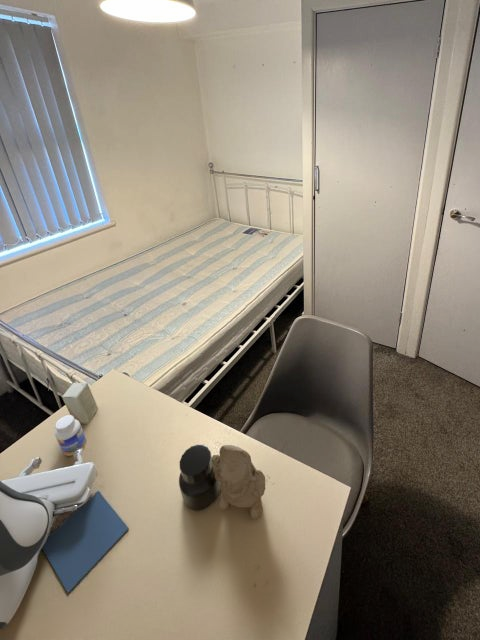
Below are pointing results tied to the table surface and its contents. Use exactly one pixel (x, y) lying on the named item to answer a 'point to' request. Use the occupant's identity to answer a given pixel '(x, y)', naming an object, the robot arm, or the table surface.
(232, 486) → the figurine
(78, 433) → the pill bottle
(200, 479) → the ink bottle
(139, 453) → the table surface
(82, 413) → the box
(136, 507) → the table surface
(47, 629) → the table surface
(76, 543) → the mat
